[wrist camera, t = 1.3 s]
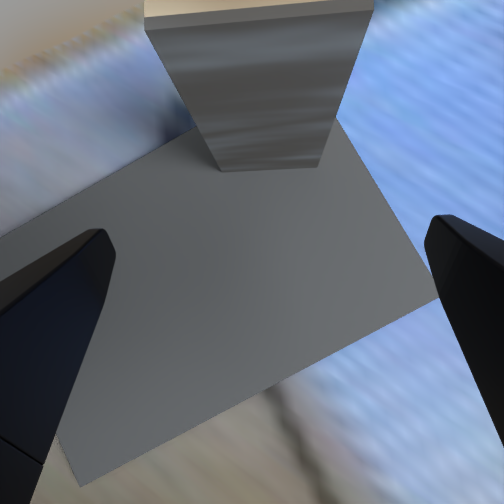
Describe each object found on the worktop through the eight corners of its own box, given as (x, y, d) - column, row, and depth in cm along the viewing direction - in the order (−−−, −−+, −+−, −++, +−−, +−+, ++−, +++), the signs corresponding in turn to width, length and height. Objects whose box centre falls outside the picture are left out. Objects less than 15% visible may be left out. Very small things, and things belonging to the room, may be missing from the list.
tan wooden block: (317, 167, 22) (374, 9, 9) (222, 172, 22) (144, 30, 9) (315, 124, 22) (368, -91, 9) (221, 130, 23) (144, -65, 10)
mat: (438, 294, 21) (443, 294, 21) (85, 481, 22) (80, 487, 22) (303, 70, 23) (304, 64, 22) (-17, 252, 24) (-25, 251, 23)
